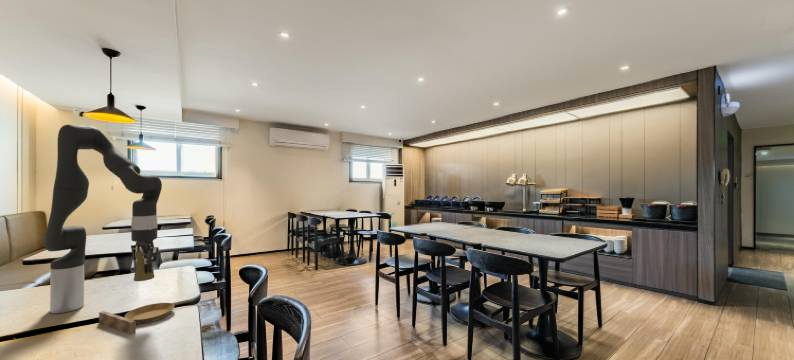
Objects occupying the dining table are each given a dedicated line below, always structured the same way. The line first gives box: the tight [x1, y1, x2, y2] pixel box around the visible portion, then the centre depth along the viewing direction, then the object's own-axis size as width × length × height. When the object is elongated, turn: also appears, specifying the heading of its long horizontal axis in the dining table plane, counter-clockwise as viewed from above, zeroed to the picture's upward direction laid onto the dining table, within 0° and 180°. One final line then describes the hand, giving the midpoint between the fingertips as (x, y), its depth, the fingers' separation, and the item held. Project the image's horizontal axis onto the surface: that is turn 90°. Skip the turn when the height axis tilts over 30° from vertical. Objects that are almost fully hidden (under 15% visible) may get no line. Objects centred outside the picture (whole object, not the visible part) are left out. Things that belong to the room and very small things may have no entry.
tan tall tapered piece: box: [133, 250, 155, 282], centre depth 113 cm, size 6×6×11 cm
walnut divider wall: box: [98, 310, 137, 335], centre depth 106 cm, size 20×1×4 cm, turn 68°
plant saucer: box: [124, 302, 175, 324], centre depth 115 cm, size 15×15×3 cm
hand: (144, 272), depth 113 cm, fingers closed on tan tall tapered piece, 4 cm apart
